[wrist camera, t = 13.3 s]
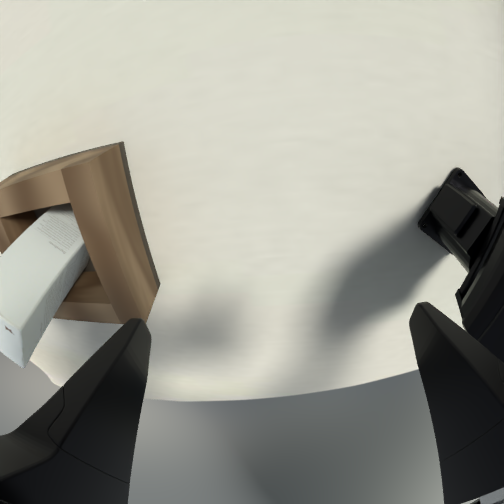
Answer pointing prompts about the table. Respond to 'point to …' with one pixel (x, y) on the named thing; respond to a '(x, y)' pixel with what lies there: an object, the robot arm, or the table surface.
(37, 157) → the table surface
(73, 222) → the skincare box
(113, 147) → the socket block
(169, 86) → the table surface
